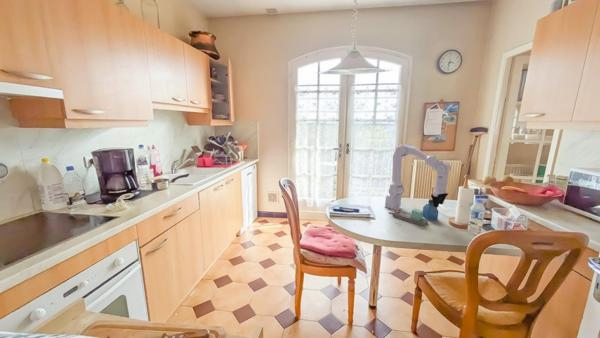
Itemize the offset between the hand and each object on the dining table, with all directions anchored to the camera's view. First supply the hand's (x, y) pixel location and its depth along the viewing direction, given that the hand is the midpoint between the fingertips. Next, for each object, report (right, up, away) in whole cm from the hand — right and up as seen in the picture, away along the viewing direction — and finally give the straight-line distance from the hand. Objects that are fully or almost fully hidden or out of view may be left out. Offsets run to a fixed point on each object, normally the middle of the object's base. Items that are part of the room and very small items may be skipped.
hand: (438, 205), depth 144 cm
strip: (-17, -9, +5) cm, 20 cm away
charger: (-13, -10, 0) cm, 16 cm away
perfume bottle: (-2, -9, +6) cm, 11 cm away
